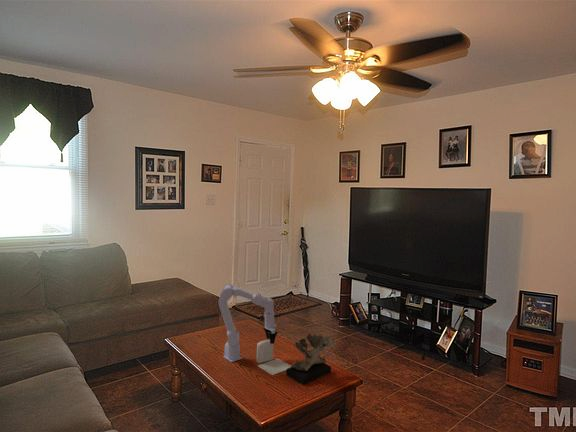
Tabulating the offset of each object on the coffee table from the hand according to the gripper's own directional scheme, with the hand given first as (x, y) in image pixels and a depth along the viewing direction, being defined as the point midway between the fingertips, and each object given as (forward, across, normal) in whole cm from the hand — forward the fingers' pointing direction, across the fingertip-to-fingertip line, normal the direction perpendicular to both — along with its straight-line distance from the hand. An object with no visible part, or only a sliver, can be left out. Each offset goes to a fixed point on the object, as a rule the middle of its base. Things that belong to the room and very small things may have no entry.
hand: (270, 341), depth 226 cm
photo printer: (+11, -1, +4) cm, 12 cm away
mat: (+11, -10, +1) cm, 15 cm away
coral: (+13, -26, -17) cm, 34 cm away
